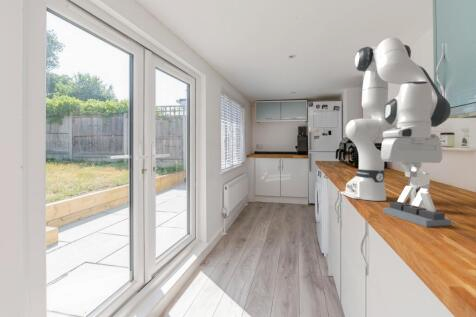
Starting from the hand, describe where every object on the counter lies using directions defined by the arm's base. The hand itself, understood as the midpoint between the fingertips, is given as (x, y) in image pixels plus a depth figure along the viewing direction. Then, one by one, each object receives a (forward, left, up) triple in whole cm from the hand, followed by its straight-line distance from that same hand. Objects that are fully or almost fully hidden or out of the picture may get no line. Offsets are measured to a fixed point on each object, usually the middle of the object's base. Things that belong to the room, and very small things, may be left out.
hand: (411, 176), depth 79 cm
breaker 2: (-6, +9, -11) cm, 16 cm away
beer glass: (-18, +24, -16) cm, 34 cm away
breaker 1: (-12, +9, -11) cm, 19 cm away
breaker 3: (0, +9, -11) cm, 15 cm away
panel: (-6, +9, -15) cm, 19 cm away
